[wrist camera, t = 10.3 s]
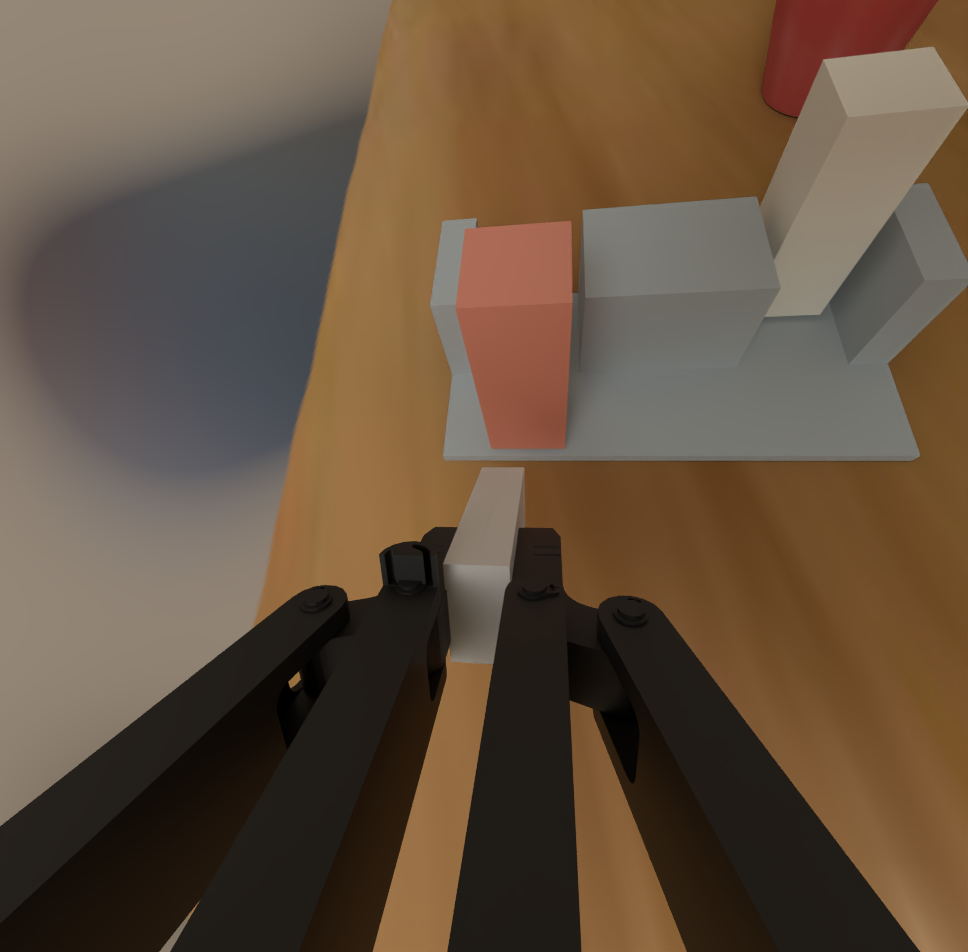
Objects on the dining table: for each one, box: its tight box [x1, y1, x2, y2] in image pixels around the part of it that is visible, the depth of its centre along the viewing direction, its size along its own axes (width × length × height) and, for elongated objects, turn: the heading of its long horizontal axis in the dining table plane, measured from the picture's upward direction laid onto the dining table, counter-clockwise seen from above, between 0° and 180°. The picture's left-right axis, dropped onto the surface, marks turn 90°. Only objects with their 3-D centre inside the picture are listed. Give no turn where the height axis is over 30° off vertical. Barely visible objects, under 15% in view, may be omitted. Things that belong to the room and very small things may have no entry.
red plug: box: [455, 221, 573, 449], centre depth 22 cm, size 4×4×11 cm
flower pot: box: [762, 0, 938, 117], centre depth 33 cm, size 11×11×10 cm
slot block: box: [430, 183, 968, 461], centre depth 26 cm, size 25×12×7 cm, turn 86°
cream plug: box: [760, 47, 968, 317], centre depth 24 cm, size 4×4×11 cm
